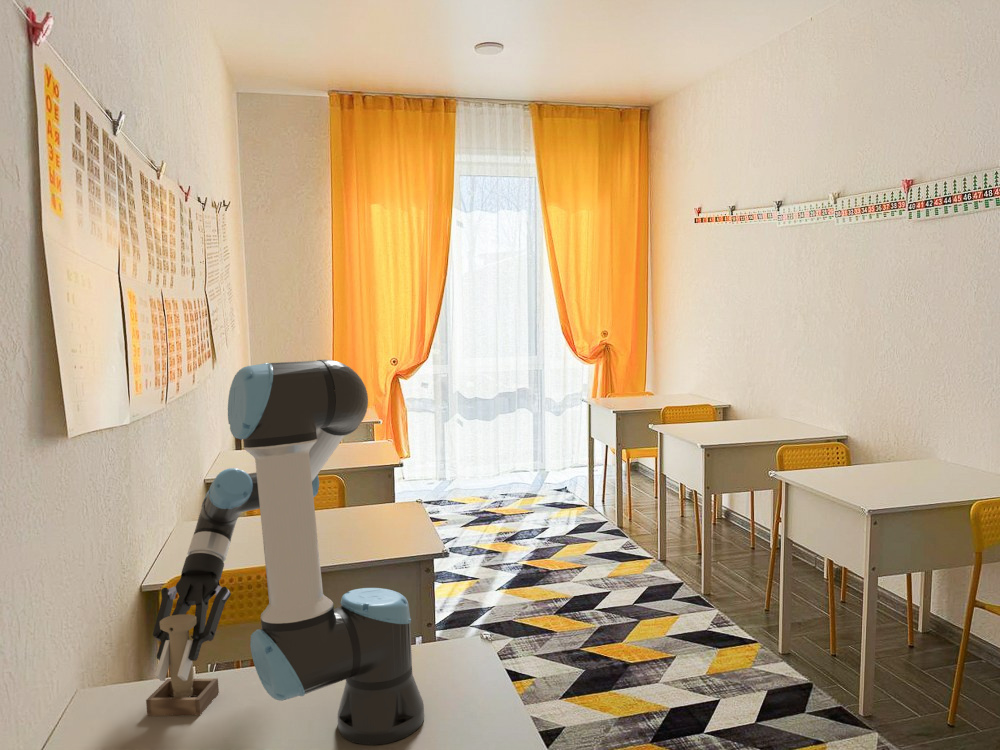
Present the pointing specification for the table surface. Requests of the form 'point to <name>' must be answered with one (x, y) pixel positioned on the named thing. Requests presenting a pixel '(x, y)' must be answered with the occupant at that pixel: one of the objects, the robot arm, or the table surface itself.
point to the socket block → (182, 699)
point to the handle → (179, 650)
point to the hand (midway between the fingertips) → (171, 677)
